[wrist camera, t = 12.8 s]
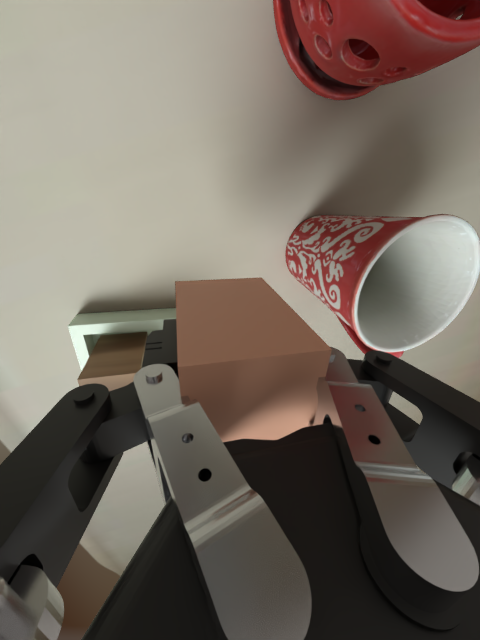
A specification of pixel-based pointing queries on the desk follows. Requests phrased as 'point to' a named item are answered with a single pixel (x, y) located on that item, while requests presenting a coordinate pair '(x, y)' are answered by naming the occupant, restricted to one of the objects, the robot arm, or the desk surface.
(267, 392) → the terracotta block
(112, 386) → the walnut block
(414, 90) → the desk surface
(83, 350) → the tray
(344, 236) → the mug
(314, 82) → the plant pot
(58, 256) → the desk surface
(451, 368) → the desk surface
